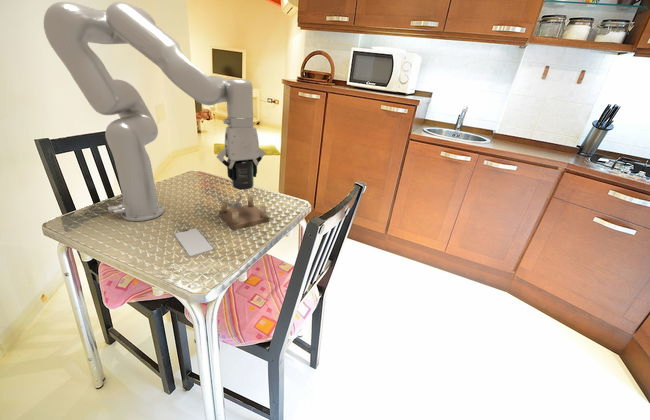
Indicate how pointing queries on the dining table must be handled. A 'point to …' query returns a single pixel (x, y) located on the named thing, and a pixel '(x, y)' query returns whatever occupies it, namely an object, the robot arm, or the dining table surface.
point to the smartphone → (193, 242)
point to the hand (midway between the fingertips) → (242, 177)
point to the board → (243, 214)
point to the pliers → (231, 203)
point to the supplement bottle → (243, 174)
